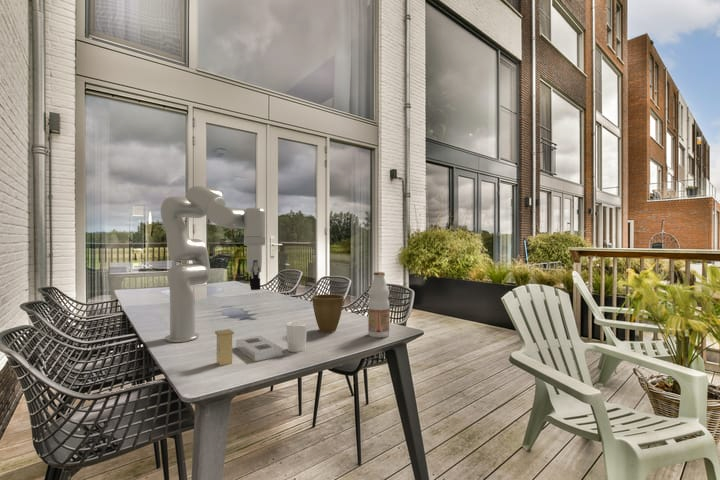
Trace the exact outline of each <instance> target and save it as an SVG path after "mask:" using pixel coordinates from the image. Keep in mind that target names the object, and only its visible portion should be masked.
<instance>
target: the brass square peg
mask: <svg viewBox="0 0 720 480" xmlns="http://www.w3.org/2000/svg"><path fill="white" fill-rule="evenodd" d="M214 334H216V363H217V365H219V366H220V367H221V366H225V365H231V364H233V335H234V334H235V331H233V329H230V328H227V329H219V330H215V331H214Z"/></svg>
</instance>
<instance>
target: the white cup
mask: <svg viewBox="0 0 720 480" xmlns="http://www.w3.org/2000/svg"><path fill="white" fill-rule="evenodd" d="M285 327H286V341H287V351H289V352H291V353H292V352H293V353H298V352H303V351H305V350H306V347H307V346H306V345H307V336H308V335H307V334H308V333H307V332H308V322H306V321H302V320H297V321H295V320H294V321H289V322H287V323H286V326H285Z"/></svg>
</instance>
